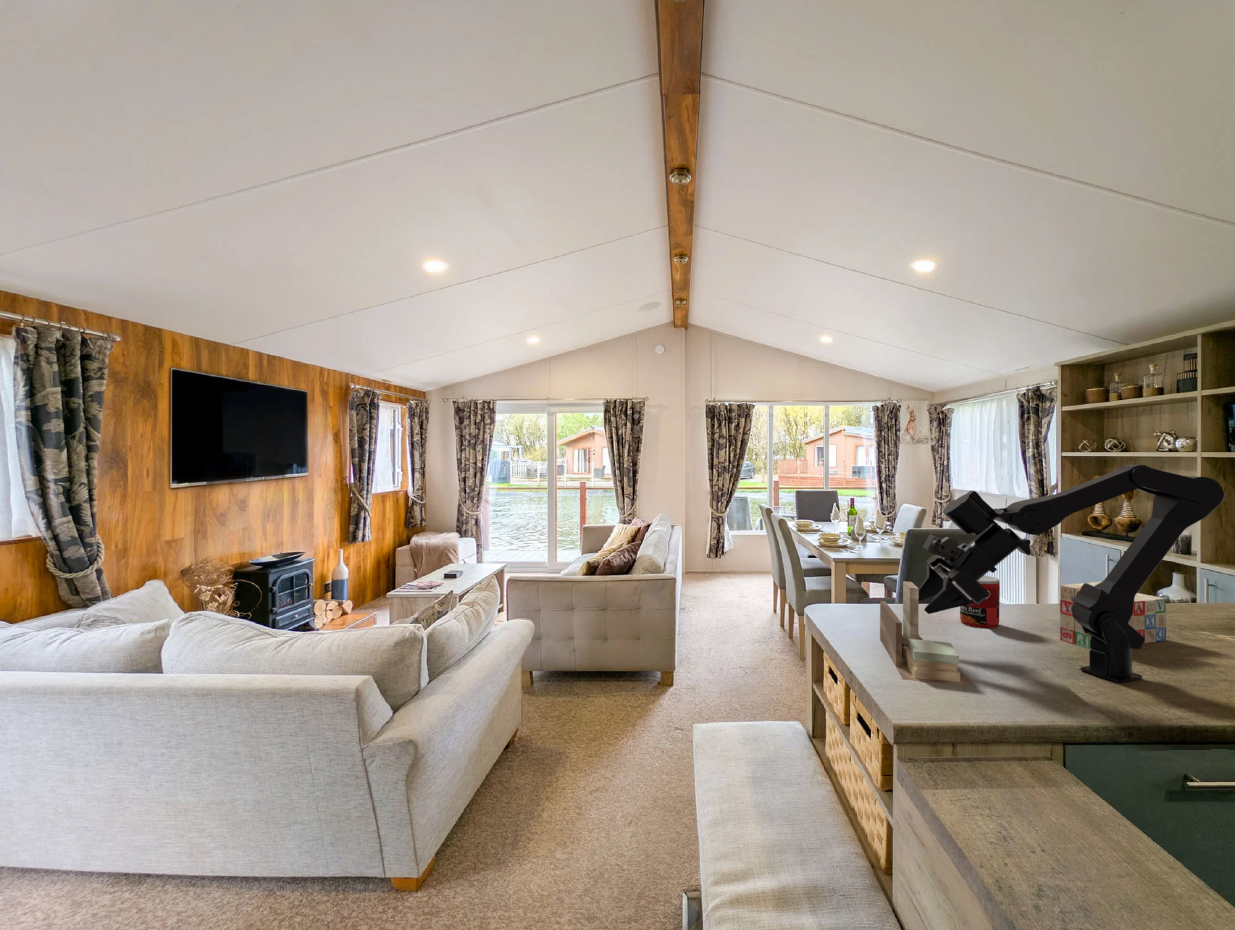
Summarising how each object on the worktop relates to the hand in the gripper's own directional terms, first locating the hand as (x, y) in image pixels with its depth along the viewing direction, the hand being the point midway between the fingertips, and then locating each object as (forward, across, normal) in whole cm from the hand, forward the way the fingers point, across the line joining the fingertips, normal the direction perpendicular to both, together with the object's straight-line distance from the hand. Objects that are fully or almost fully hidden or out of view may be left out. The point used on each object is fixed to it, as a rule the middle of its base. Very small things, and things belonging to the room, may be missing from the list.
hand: (920, 605), depth 112 cm
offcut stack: (+7, +11, +6) cm, 14 cm away
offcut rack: (+8, +5, +7) cm, 12 cm away
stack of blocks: (-23, -23, +38) cm, 50 cm away
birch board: (+8, 0, +5) cm, 9 cm away
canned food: (-6, -29, +21) cm, 37 cm away
